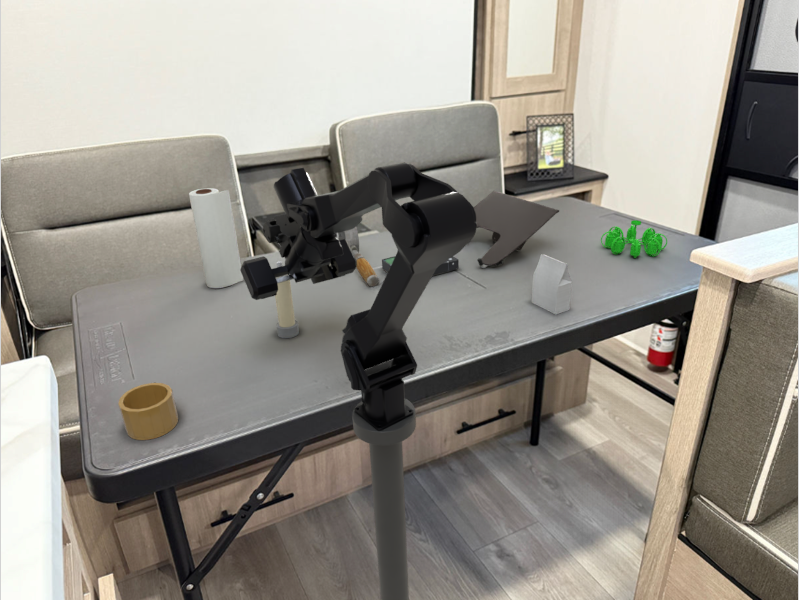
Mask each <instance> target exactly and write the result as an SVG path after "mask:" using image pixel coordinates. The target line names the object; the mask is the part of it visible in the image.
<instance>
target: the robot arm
mask: <svg viewBox="0 0 799 600" xmlns="http://www.w3.org/2000/svg"><path fill="white" fill-rule="evenodd" d="M273 189H274V191H275V194H276V196H277V198H278V200H279V202H280V205H281V207H282V209H283V212H284V214H280V215H276V216H274V217H273V218H270V219H268V220H267V221H265V222H264V224H263V226H262V234H263V236H264V238H265V240H266V241H267V242H268V243H269V244H273V243H276V244H279V246H280V248H279V250H278V253H279V255H280V257H281V258H282V259H283V258H284V265H282V266H281V267H277V266H276V267H274V268H272V266H271V263H270V262H269V260H268V258H267V257H266V256H265V255H264V256H260V257H255V258H251V259H248V260H243V263H242V264H241V269H240V271H241V273H242V276H243V281H244V283H245V285H246V288H247V290H248V292H249V294H250V297H251V299H253V300H256V301H258V300H264V299H268V298H271V297H275V295H277V292H278V283H281V282H285V281H288V280H290V281H291V280H294V282H295V284H297V283H300V282H303V281H307V280H311V282H312V284H313V285H315V284H320V283H322V282H323V283H324V282H326V281H327V282H328V281H330V280H334V279H339V278H341V277H345V276H346V275H350V274H352V273H354V271H356V269H357V267H356V266H357V260H356V258H355V256H354V254H353V252H352V250H351V248H350V246H349V243H348V241H347V240H346V239H344V238H342V237H340V238H339V232H343V231H347V230H351V229H354V228H355V227H357V226H358V225H360V224H361V223H362V222H363V216H364V215H366V214H369V213H371V212H373V211H375V210H377V209H380V208H381V219H382V225H383V227H384V228H385V229H386V230H387V231H388V232H389V233H390V235H391V238H392V240H393V242H394V244H395V248H396V249H397V252H396V254H395V258H394V260H393V262H392V265H391V267H390V269H389V271H388V273H387V272H386V276H385V277H384V280H383V282H382V283H381V286H380V288H379V290H378V292H377V295H376V297H375V298H374V301H373V303H372V305H371V307H370V308H369V309H366V310H363V311H360V312H357V313H354V314H351V315H350V316H349V317H348V319H347V321H346V325H345V327H344V328H343V329H342V330H341V331H342V333H343V336H342V340H341V344H340V353H341V358H342V362H343V365H344V370H345V372H346V377H347V380H348V381H349V382H350V387H351V389H352V390H353V391H359V392H360V395H361V401H362V402H363V404H362V405H360V406H357V407H356V406H355V407H353V410H354V412H355V413H356V414H357V415H359V416H360V417H361V418H362V419H364V420H365V421H366V422H367V423H369V424H370V425H371V426H372V427H374V428H375V429H376V430H377V431H382V430H384V429H386V428H388V427H390V426H392V425H394V424H396V423H398V422H400V421H402V420H404V419H406V418H408V417H410V416H412V415H413V414H414V410H412V409H411V408H410V407H408V406H407V405H405V399H406V397H405V395H406V393H405V381H404V380H403V379H404V378H406V377H409V376H413V375H416V372H417V368H418V363H417V361H416V359H415V357H414V355H413V353H412V351H411V348H410V346H409V344H408V343H407V339H408V337H407V335H406V334H405V332H404V330H403V328H404V326H405V324H406V322H408V319H409V317H410V315H411V314H412V312H413V310H414V309H415V307H416V305H417V304H418V301H419V300H420V299H421V297H422V295H423V293H424V292H425V289H426V288H427V286H428V285H429V283H430V281H431V279H432V277H433V274H434V272H435V270H436V269H437V267H438V266H439V265H441V264H442V263H444V262H445V261H447V260H448V259H450V258H451V257H455V256H456V255H458V254H459V253H460V252H461V251H462V250H463V249H464V248H465V247H466V246H467V245H468V244H469V243H470V242H471V241H472V240H473V238H474V237H475V235H476V232H477V228H476V227H477V223H476V212H475V210H474V208H473V207H474V206H473V204H472V203H471V202H470V201H469V200H468V199H467V198H466V197H465V196H464V195H463V194H462V193H460V192H459V191H457V190H456V189H455V188H454V187H453V186H452V185H451V184H449V183H447V182H444V181H442V180H439V179H437V178H435V177H433V176H430V175H428V174H425V173H423V172H421V170H419V169H418V168H417V167H416V166H415V165H413V164H412V163H407V162H400V163H394V164H387V165H383V166H378V167H377V166H376V167H375V168H374V169H373V170H371V171H370V172H369V174H367V175H365V176H363V177H361V178H359V179H358V180H356V181H354V182H353V183H350V184H349V185H347V186H345V187H343V188H341V189H340V190H337V191H332V192H326V193H322V194H318V192H317V189H316V188H315V186H314V183H313V181H312V179H311V178H310V175H309V173H308V172H306V170H305V168H304V167H297V168H292V169H291V170H290V172H289V173H287V174H285V175H283V176H281V177H280V178H279V179H278V180H276V181H275V182H274V184H273ZM406 198H410V199H411V200H412V201H408V202H404V203H403V204H401V205H400V204H399V202H397V201H399V200H403V199H406ZM287 274H288V275H287ZM280 276H281V277H280ZM276 277H277V278H276ZM278 277H279V278H278Z"/></svg>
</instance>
